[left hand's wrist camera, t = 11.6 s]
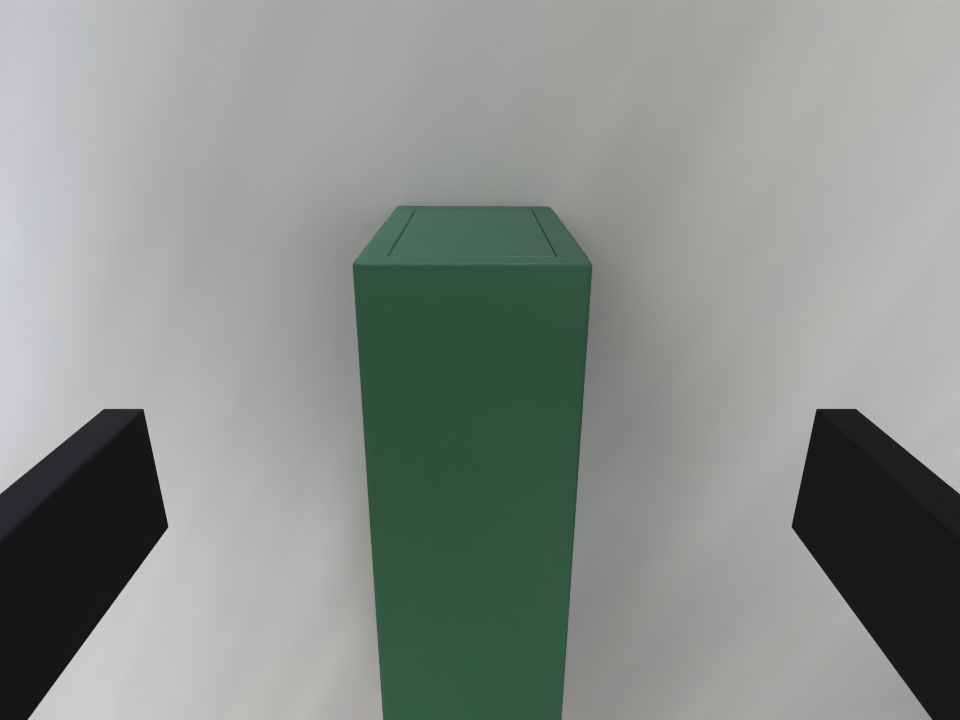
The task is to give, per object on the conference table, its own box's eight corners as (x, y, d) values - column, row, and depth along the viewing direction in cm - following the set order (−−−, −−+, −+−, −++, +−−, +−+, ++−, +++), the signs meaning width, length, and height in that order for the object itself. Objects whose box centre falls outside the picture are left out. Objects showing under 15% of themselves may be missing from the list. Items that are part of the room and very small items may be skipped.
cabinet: (534, 597, 32) (557, 793, 23) (413, 598, 32) (387, 793, 23) (550, 206, 25) (593, 262, 16) (397, 205, 25) (352, 261, 16)
